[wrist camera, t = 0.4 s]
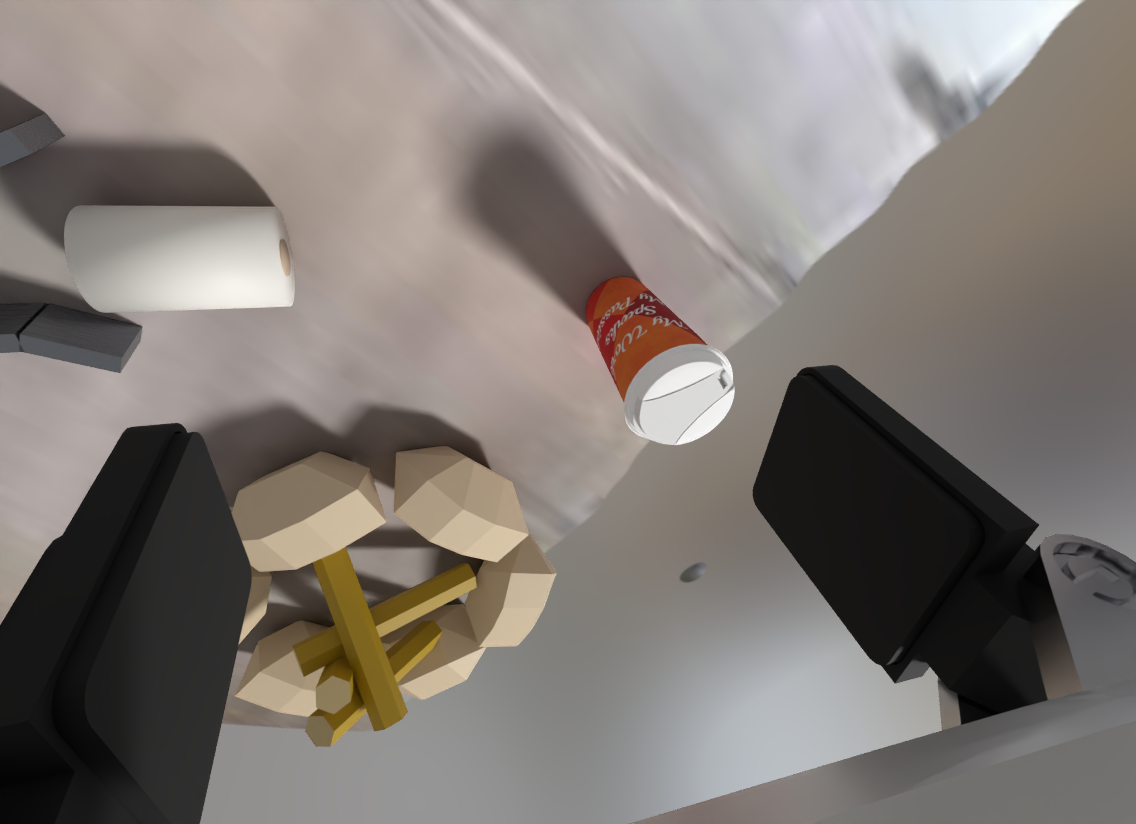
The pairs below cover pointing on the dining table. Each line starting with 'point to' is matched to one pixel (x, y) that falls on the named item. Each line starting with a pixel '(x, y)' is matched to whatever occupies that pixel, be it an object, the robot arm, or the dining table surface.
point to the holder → (55, 325)
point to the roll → (179, 257)
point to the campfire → (402, 623)
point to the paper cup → (658, 364)
